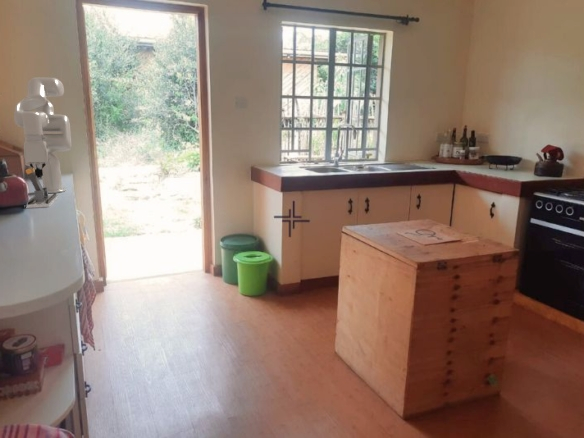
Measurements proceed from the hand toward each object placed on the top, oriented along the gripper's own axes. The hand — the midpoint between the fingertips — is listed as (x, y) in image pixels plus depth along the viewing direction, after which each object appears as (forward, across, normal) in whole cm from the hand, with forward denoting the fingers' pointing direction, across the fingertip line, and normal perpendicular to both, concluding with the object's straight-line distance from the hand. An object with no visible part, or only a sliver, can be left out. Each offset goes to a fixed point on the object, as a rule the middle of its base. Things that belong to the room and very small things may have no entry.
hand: (39, 177), depth 217 cm
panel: (+12, 0, 0) cm, 13 cm away
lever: (+8, 0, 0) cm, 8 cm away
